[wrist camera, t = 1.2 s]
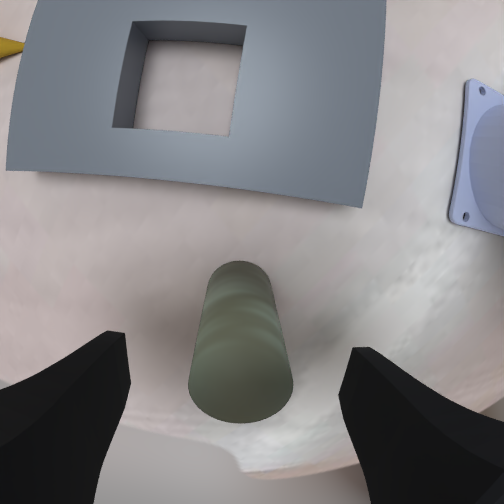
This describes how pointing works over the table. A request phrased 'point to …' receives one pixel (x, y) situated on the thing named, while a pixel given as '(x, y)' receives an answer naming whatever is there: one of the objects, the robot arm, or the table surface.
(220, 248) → the table surface
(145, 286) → the table surface
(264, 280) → the sage green pin
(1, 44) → the ice cream cone
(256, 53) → the pin board
